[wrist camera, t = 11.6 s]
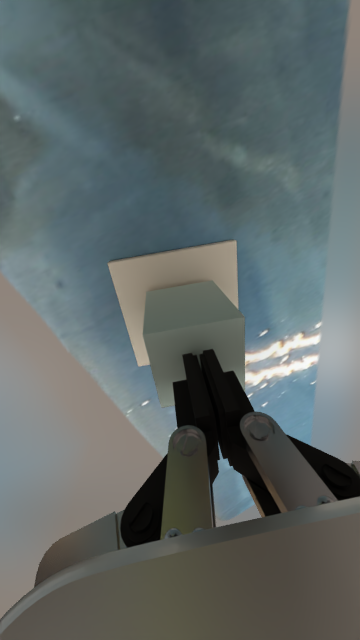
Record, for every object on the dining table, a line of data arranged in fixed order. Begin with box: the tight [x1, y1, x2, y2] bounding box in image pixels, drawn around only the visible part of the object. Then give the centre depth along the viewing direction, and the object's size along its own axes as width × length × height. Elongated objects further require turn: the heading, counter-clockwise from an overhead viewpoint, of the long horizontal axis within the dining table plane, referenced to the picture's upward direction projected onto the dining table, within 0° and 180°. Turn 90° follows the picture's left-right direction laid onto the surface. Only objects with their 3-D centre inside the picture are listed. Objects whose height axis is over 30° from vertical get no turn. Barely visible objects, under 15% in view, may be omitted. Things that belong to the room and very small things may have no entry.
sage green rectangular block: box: [143, 280, 245, 408], centre depth 15 cm, size 5×5×7 cm
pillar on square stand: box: [108, 240, 238, 366], centre depth 16 cm, size 10×10×8 cm
